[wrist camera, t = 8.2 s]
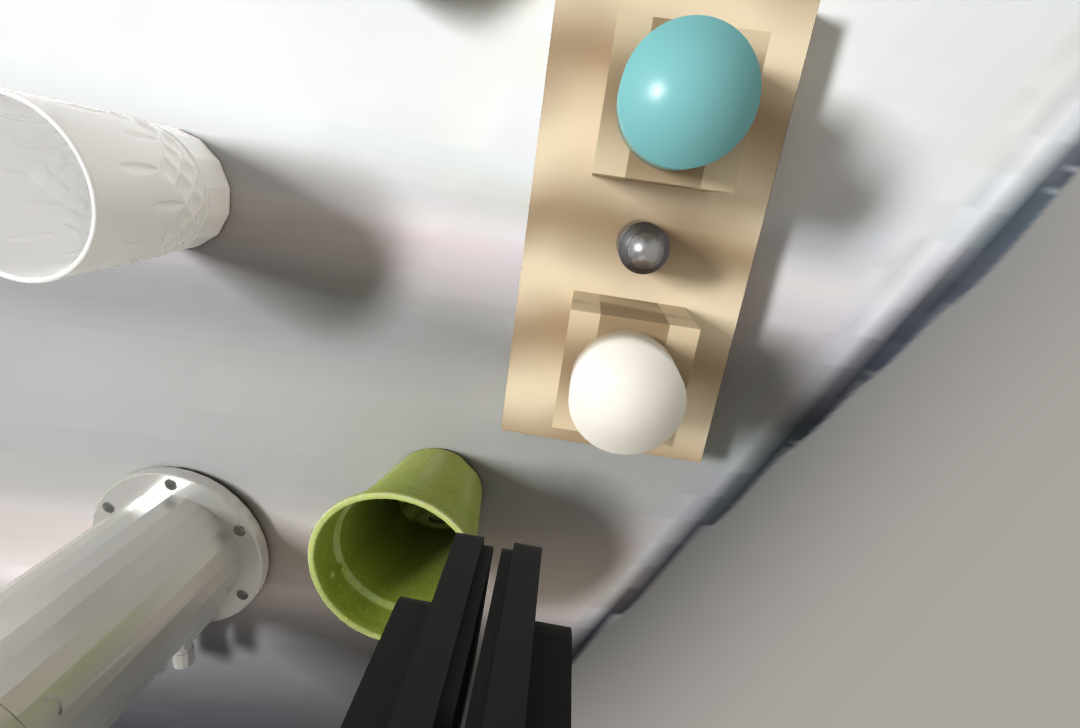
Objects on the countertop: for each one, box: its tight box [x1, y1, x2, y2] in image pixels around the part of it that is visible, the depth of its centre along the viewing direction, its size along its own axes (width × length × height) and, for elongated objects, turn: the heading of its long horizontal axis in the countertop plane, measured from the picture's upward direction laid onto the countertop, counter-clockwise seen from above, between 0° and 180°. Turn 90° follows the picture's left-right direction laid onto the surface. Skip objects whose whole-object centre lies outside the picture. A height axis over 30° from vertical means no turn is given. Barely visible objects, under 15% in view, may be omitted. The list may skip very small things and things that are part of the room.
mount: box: [501, 0, 820, 463], centre depth 27 cm, size 24×12×7 cm, turn 172°
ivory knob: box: [568, 331, 687, 455], centre depth 27 cm, size 5×5×8 cm
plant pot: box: [308, 448, 482, 640], centre depth 33 cm, size 9×9×9 cm
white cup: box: [0, 87, 230, 283], centre depth 28 cm, size 8×8×10 cm
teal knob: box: [616, 15, 762, 171], centre depth 23 cm, size 5×5×8 cm
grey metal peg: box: [616, 220, 670, 274], centre depth 27 cm, size 2×2×4 cm
